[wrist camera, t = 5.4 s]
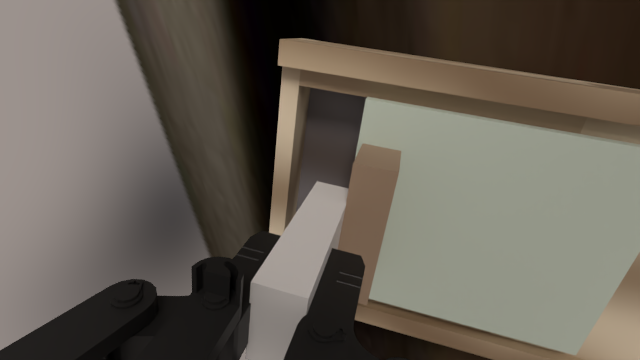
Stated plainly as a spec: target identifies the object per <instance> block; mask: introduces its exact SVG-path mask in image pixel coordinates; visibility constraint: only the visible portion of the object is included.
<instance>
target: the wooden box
mask: <svg viewBox="0 0 640 360" xmlns="http://www.w3.org/2000/svg"><path fill="white" fill-rule="evenodd" d="M278 65H279V66H283V67H282V80H281V92H280V104H279V117H278V129H277V141H276V154H275V166H274V178H273V191H272V203H271V215H270V228H269V233H273V234H276V235H280V236H281V235H282V234H283V232H284V231H285V229H286V228H287V226H288V225H289V223H290V222H291V220H292V219H293V217H294V216H295V214H296V212H297V211H298V209H299V208H300V206H301V205H302V203H303V202H304V200H305V199H306V197H307V196H308V194H309V193H310V191H311V190H312V188H313V187H314V185H315V184H316V182H317V181H318V182H322V183H327V184H331V185H335V186H340V187H344V188H348V189H349V184H350V178H351V173H352V167H353V163H354V161H355V155H356V150H357V144H358V139H359V134H360V128H361V123H362V117H363V112H364V106H365V101H366V98H367V97H372V98H378V99H384V100H390V101H395V102H401V103H407V104H412V105H418V106H424V107H429V108H435V109H441V110H447V111H452V112H458V113H464V114H469V115H475V116H481V117H486V118H492V119H498V120H503V121H509V122H515V123H521V124H526V125H532V126H538V127H543V128H549V129H555V130H560V131H566V132H572V133H578V134H583V135H589V136H595V137H600V138H606V139H612V140H617V141H623V142H629V143H634V144H640V89H633V88H626V87H620V86H613V85H607V84H600V83H593V82H587V81H580V80H574V79H567V78H561V77H554V76H547V75H541V74H534V73H528V72H521V71H514V70H508V69H501V68H495V67H488V66H481V65H475V64H468V63H462V62H455V61H448V60H442V59H435V58H429V57H422V56H415V55H409V54H402V53H396V52H389V51H382V50H376V49H369V48H363V47H356V46H350V45H343V44H336V43H330V42H323V41H317V40H310V39H303V38H297V39H280V43H279V56H278ZM354 320H357V321H361V322H364V323H367V324H371V325H374V326H378V327H381V328H385V329H388V330H392V331H395V332H399V333H402V334H406V335H409V336H413V337H416V338H420V339H423V340H427V341H430V342H433V343H437V344H440V345H444V346H447V347H451V348H454V349H458V350H461V351H465V352H468V353H472V354H475V355H479V356H482V357H486V358H489V359H493V360H640V252H639V254H638V255H637V257H636V259H635V260H634V262H633V263H632V265H631V267H630V268H629V270H628V272H627V273H626V275H625V276H624V278H623V280H622V281H621V283H620V285H619V286H618V288H617V289H616V291H615V293H614V294H613V296H612V298H611V299H610V301H609V302H608V304H607V306H606V307H605V309H604V311H603V312H602V314H601V315H600V317H599V319H598V320H597V322H596V324H595V325H594V327H593V328H592V330H591V332H590V333H589V335H588V336H587V338H586V340H585V341H584V343H583V345H582V346H581V348H580V349H579V351H578V353H577V354H576V355H572V354H568V353H565V352H561V351H558V350H554V349H550V348H547V347H543V346H539V345H536V344H532V343H529V342H525V341H521V340H518V339H514V338H510V337H507V336H503V335H499V334H496V333H492V332H489V331H485V330H481V329H478V328H474V327H470V326H467V325H463V324H459V323H456V322H452V321H449V320H445V319H441V318H438V317H434V316H430V315H427V314H423V313H420V312H416V311H412V310H409V309H405V308H401V307H398V306H394V305H390V304H387V303H383V302H380V301H376V300H372V299H368V303H367V305H363V304H360V303H358V305H357V310H356V314H355V319H354Z"/></svg>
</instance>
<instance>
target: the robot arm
mask: <svg viewBox="0 0 640 360" xmlns="http://www.w3.org/2000/svg"><path fill="white" fill-rule="evenodd" d="M347 195H348V188H344V187H340V186H335V185H331V184H327V183H322V182H318V181H317V182H316V184H315V185H314V187H313V188H312V190H311V191H310V193H309V194H308V196H307V197H306V199H305V200H304V202H303V203H302V205H301V206H300V208H299V209H298V211H297V212H296V214H295V216H294V217H293V219H292V220H291V222H290V223H289V225H288V226H287V228H286V229H285V231H284V232H283V234H282V235H281V236H280V235H276V234H273V233H269V232H265V231H261V232H259V233H257V234H255V235H253V236H251V237H250V238H249V239H248V241H247V242H246V243H245V244H244V246H243V248H241V249H240V251H239V252H238V253H237V255H236V256H235V257H234V258H233V259H230V258H225V257H211V258H207V259H204V260H201V261H199V262H197V263H196V264H195V265H193V266H192V293H191V295H189V296H157V292H156V287H155V286H154V285H153V284H152V283H150V282H148V281H145V280H137V279H131V280H126V281H121V282H118V283H116V284H114V285H112V286H109V287H108V288H106V289H104V290H103V291H101V292H99V293H97V294H96V295H94V296H92V297H91V298H89V299H87V300H86V301H84V302H82V303H81V304H79V305H77V306H76V307H74V308H72V309H70V310H69V311H67V312H65V313H63V314H62V315H60V316H59V317H57V318H55V319H53V320H51V321H50V322H48V323H46V324H45V325H43V326H41V327H40V328H38V329H36V330H34V331H33V332H31V333H29V334H28V335H26V336H24V337H22V338H21V339H19V340H18V341H16V342H14V343H12V344H11V345H9V346H7V347H6V348H4V349H2V350H0V360H239V359H240V357H241V355H242V353H243V351H244V350H245V348H246V359H248V360H380V359H378V358H376V357H375V356H373V355H372V354H370V353H369V352H368V351H367V350H365V349H364V348H363V347H362V346H361V344H360V343H359V342H358V340H357V338H356V336H355V333H354V319H355V314H356V310H357V305H358V300H359V295H360V290H361V285H362V281H363V276H364V271H365V264H364V262H363V259H362V256H361V255H357V254H353V253H349V252H345V251H342V250H338V245H339V239H340V234H341V229H342V223H343V218H344V213H345V208H346V200H347ZM386 360H408V359H405V358H401V357H395V358H388V359H386Z"/></svg>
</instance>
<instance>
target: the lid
mask: <svg viewBox="0 0 640 360" xmlns="http://www.w3.org/2000/svg"><path fill="white" fill-rule="evenodd" d="M338 250H342V251H345V252H349V253H353V254H357V255H361V256H362V259H363V262H364V264H365V271H364V276H363V281H362V285H361V290H360V295H359V300H358V303H360V304H363V305H367V303H368V299H372V300H376V301H380V302H383V303H387V304H390V305H394V306H398V307H401V308H405V309H409V310H412V311H416V312H420V313H423V314H427V315H430V316H434V317H438V318H441V319H445V320H449V321H452V322H456V323H459V324H463V325H467V326H470V327H474V328H478V329H481V330H485V331H489V332H492V333H496V334H499V335H503V336H507V337H510V338H514V339H518V340H521V341H525V342H529V343H532V344H536V345H539V346H543V347H547V348H550V349H554V350H558V351H561V352H565V353H568V354H572V355H576V354H577V353H578V351H579V349H580V348H581V346H582V345H583V343H584V341H585V340H586V338H587V336H588V335H589V333H590V332H591V330H592V328H593V327H594V325H595V324H596V322H597V320H598V319H599V317H600V315H601V314H602V312H603V311H604V309H605V307H606V306H607V304H608V302H609V301H610V299H611V298H612V296H613V294H614V293H615V291H616V289H617V288H618V286H619V285H620V283H621V281H622V280H623V278H624V276H625V275H626V273H627V272H628V270H629V268H630V267H631V265H632V263H633V262H634V260H635V259H636V257H637V255H638V254H639V252H640V144H634V143H629V142H623V141H617V140H612V139H606V138H600V137H595V136H589V135H583V134H578V133H572V132H566V131H560V130H555V129H549V128H543V127H538V126H532V125H526V124H521V123H515V122H509V121H503V120H498V119H492V118H486V117H481V116H475V115H469V114H464V113H458V112H452V111H447V110H441V109H435V108H429V107H424V106H418V105H412V104H407V103H401V102H395V101H390V100H384V99H378V98H372V97H367V98H366V101H365V106H364V112H363V117H362V123H361V128H360V134H359V139H358V144H357V150H356V155H355V161H354V163H353V167H352V173H351V178H350V184H349V189H348V195H347V200H346V208H345V213H344V218H343V223H342V229H341V234H340V239H339V245H338Z"/></svg>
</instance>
